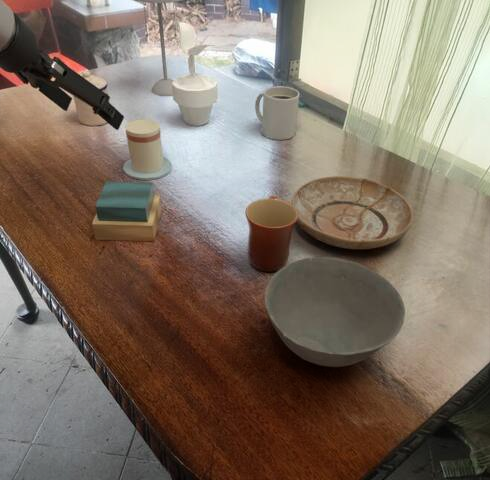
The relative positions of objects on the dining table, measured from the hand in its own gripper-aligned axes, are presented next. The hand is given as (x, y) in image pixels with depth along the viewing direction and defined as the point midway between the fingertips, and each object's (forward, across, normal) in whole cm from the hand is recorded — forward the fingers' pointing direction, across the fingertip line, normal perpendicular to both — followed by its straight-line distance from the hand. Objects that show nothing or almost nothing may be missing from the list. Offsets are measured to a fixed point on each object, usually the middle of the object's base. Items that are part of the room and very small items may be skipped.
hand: (93, 113), depth 86 cm
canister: (+19, +1, -1) cm, 19 cm away
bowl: (+2, +58, -21) cm, 62 cm away
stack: (+7, +13, -16) cm, 21 cm away
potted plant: (+38, -6, +18) cm, 42 cm away
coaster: (+20, 0, -2) cm, 20 cm away
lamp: (+46, -27, +28) cm, 60 cm away
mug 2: (+12, +40, -10) cm, 43 cm away
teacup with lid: (+29, -29, +8) cm, 41 cm away
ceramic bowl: (+23, +48, +3) cm, 53 cm away
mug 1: (+43, +14, +24) cm, 51 cm away
